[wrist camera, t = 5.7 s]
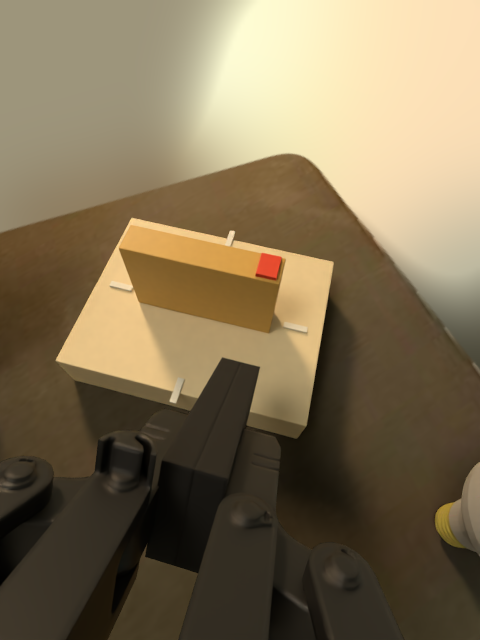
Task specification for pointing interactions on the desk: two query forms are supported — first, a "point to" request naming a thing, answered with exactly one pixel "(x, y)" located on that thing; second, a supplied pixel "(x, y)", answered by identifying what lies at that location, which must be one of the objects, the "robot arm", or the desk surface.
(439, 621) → the desk surface
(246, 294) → the lock knob
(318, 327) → the lock plate
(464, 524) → the light bulb
